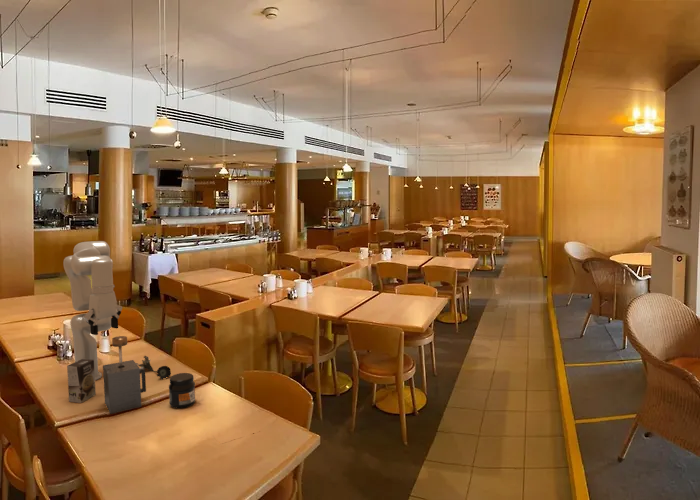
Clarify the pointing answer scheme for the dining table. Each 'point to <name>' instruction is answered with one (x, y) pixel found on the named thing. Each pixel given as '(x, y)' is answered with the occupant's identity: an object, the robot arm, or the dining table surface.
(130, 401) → the press pot
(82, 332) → the robot arm
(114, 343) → the plunger
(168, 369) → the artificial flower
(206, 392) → the dining table surface
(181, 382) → the supplement container
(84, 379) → the coffee box
